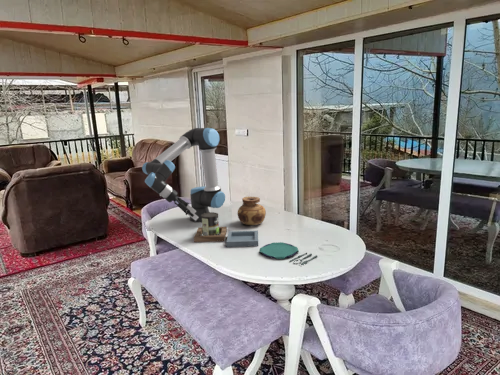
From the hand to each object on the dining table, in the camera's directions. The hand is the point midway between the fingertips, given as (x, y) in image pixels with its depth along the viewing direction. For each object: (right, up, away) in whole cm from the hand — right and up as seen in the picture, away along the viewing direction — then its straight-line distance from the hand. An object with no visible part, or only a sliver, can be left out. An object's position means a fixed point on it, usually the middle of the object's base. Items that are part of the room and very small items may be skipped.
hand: (196, 215), depth 222 cm
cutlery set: (+52, -19, -26) cm, 61 cm away
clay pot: (+34, -8, +28) cm, 44 cm away
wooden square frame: (+8, -13, +6) cm, 17 cm away
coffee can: (+8, -13, +6) cm, 17 cm away
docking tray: (+28, -15, -4) cm, 32 cm away
